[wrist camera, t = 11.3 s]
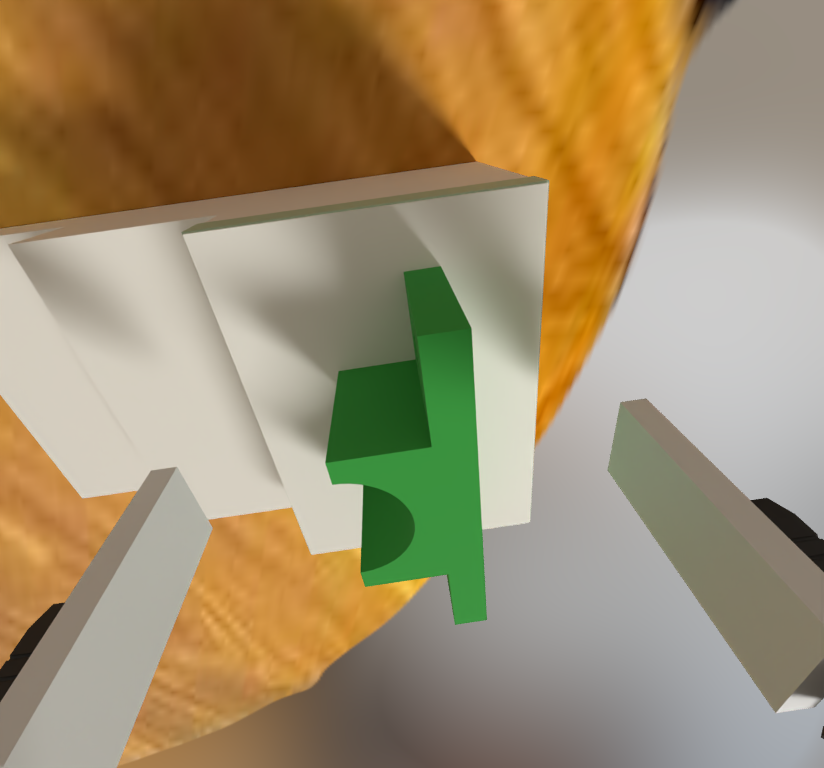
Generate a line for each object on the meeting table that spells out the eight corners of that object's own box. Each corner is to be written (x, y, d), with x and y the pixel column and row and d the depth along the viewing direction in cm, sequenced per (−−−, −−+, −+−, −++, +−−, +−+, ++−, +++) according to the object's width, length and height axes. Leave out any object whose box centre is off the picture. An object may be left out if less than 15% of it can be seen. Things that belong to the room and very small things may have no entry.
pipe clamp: (315, 283, 12) (288, 352, 8) (440, 264, 12) (472, 325, 8) (379, 530, 18) (380, 640, 14) (463, 517, 18) (488, 623, 14)
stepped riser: (111, 463, 26) (3, 600, 18) (-48, 233, 19) (-341, 306, 11) (484, 408, 26) (530, 523, 19) (477, 160, 19) (550, 180, 11)
